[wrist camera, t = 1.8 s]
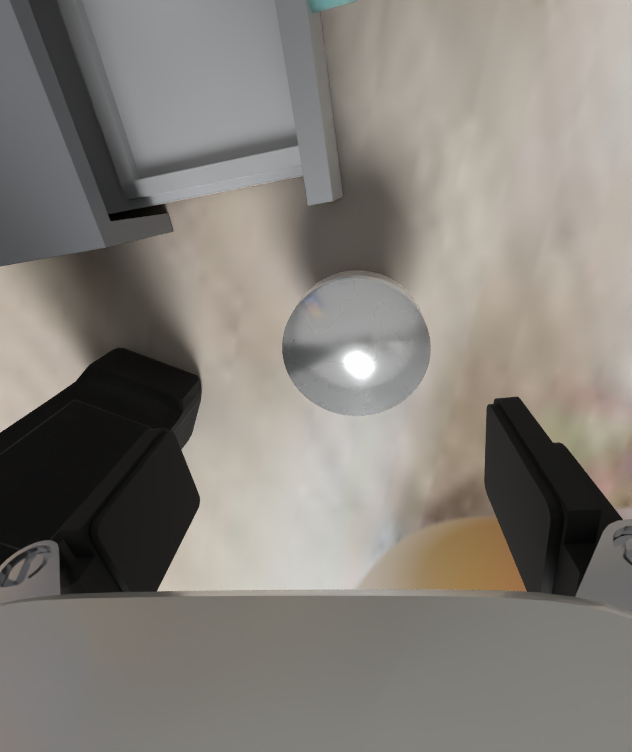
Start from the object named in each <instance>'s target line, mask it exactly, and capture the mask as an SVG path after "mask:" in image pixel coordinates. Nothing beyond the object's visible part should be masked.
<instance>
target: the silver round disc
mask: <svg viewBox="0 0 632 752" xmlns="http://www.w3.org/2000/svg"><path fill="white" fill-rule="evenodd" d="M430 346H431V345H430V337H429V333H428V329H427V326H426V323H425V321H424V318H423V316H422V314H421V311H420V309H419V307H418V305H417V303H416V301H415V300H414V298H413V297H412V296H411V295H410V293H409V292H408V291H407V290H406V289H405V288H404V287H402V286H401V285H400V284H399V283H397V282H396V281H394V280H393V279H391V278H389V277H386V276H384V275H381V274H378V273H375V272H370V271H361V270H354V271H345V272H340V273H336V274H334V275H331V276H328V277H326V278H325V279H323V280H321V281H319V282H318V283H316V284H315V285H314V286H312V287H311V288H310V289H309V290H308V291H307V292H306V293H305V295H304V296H303V297H302V298H301V300H300V301H299V303H298V305H297V306H296V308H295V310H294V311H293V313H292V315H291V316H290V318H289V320H288V323H287V325H286V328H285V331H284V335H283V343H282V348H283V359H284V363H285V366H286V370H287V372H288V374H289V376H290V378H291V380H292V381H293V383H294V385H295V386H296V387H297V388H298V390H299V391H300V392H301V393H302V394H303V395H304V396H305V397H306V398H308V399H309V400H310V401H312V402H313V403H315V404H316V405H318V406H320V407H322V408H324V409H326V410H328V411H331V412H335V413H338V414H343V415H352V416H363V415H371V414H375V413H379V412H382V411H385V410H388V409H390V408H392V407H394V406H396V405H398V404H399V403H401V402H402V401H403V400H405V399H406V398H407V397H408V396H409V395H411V393H412V392H413V391H414V390H415V389H416V388H417V386H418V385H419V384H420V382H421V381H422V379H423V377H424V375H425V373H426V370H427V367H428V364H429V359H430Z"/></svg>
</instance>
